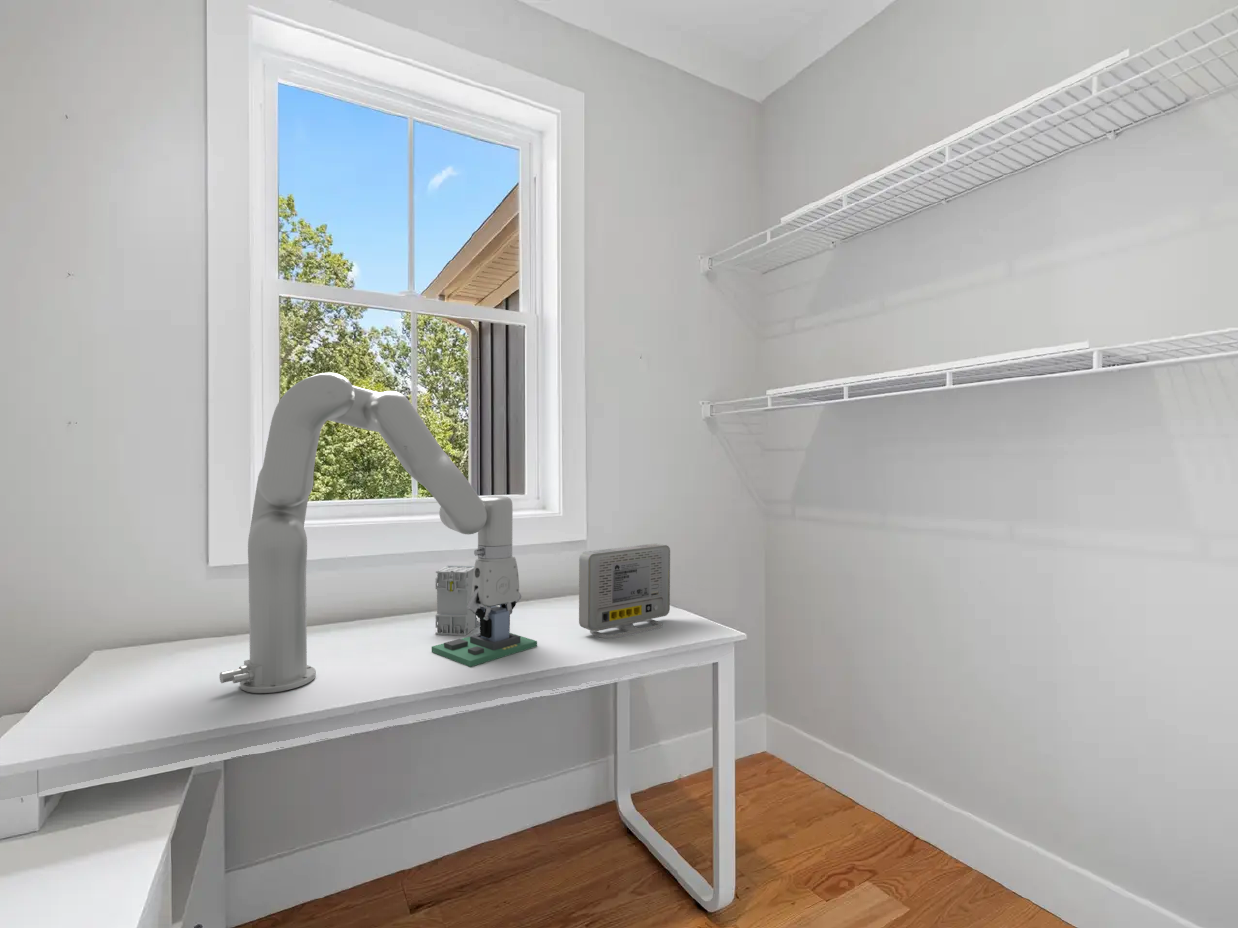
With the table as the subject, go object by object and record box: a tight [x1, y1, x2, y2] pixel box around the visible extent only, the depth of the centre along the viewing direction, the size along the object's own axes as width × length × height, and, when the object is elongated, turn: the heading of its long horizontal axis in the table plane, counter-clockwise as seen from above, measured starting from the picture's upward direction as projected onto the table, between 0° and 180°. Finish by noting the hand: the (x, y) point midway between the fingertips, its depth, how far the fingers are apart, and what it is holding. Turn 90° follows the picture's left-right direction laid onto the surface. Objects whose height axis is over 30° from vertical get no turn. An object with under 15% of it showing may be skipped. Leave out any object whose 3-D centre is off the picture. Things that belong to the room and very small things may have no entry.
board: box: [431, 632, 538, 668], centre depth 140 cm, size 18×14×3 cm
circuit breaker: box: [435, 565, 479, 636], centre depth 157 cm, size 8×14×15 cm, turn 174°
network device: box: [578, 543, 671, 640], centre depth 156 cm, size 26×9×20 cm, turn 128°
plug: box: [481, 605, 510, 642], centre depth 140 cm, size 4×5×8 cm
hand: (495, 633), depth 140 cm, fingers open, 4 cm apart
